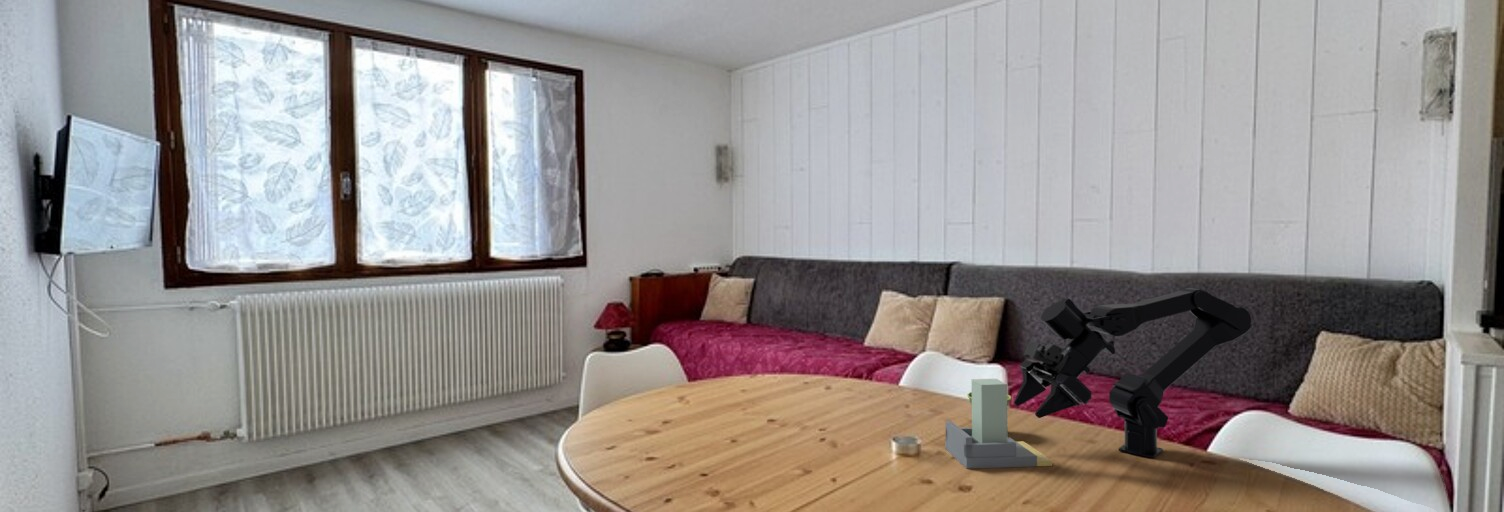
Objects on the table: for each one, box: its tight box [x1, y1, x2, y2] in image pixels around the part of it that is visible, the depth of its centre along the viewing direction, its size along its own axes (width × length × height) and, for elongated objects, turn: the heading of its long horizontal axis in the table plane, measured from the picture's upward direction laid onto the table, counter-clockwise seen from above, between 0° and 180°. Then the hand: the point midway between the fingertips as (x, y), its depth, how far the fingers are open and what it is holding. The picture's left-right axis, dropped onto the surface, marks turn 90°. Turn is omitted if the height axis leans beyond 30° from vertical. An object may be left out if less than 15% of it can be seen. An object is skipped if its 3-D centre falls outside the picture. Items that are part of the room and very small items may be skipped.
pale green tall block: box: [970, 378, 1008, 443], centre depth 131 cm, size 6×6×14 cm
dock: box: [944, 420, 1053, 470], centre depth 131 cm, size 17×12×6 cm
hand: (1025, 410), depth 131 cm, fingers open, 9 cm apart
